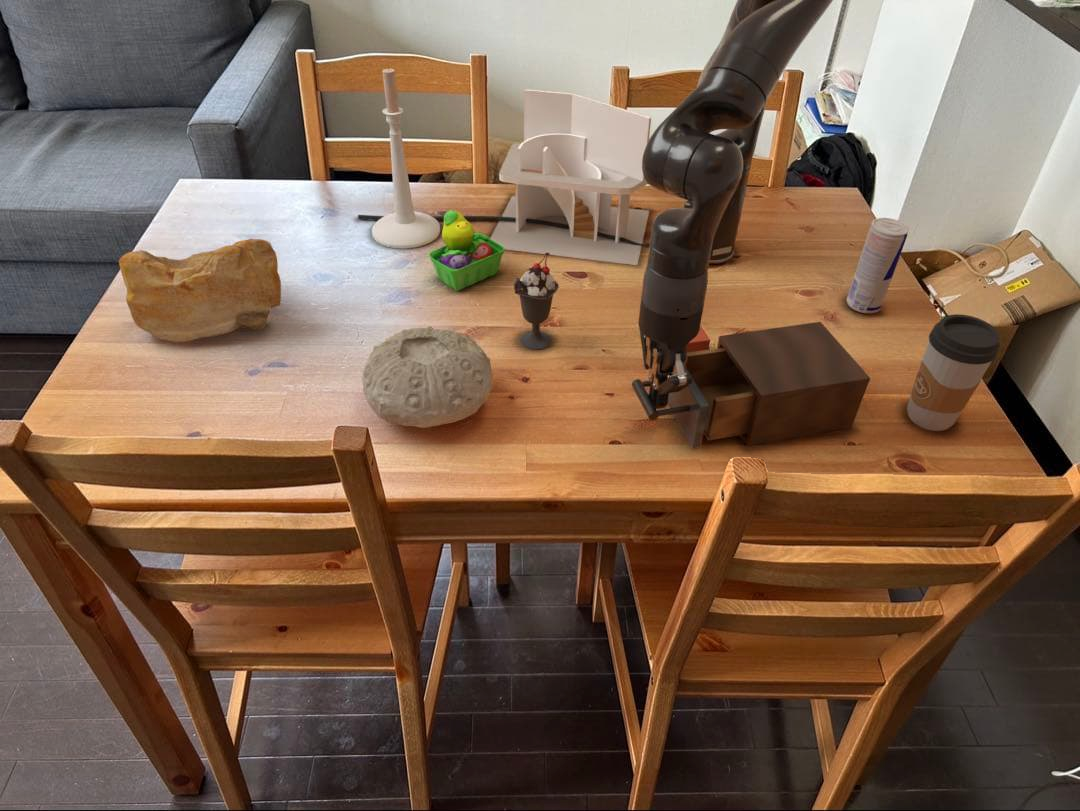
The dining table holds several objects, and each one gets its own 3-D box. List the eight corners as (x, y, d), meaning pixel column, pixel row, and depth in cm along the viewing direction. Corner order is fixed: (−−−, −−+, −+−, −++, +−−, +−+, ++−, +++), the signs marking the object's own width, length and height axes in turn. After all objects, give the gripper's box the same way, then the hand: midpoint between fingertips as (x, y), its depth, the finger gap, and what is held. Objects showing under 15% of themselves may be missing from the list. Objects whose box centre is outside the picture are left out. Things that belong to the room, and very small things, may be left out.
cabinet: (747, 447, 106) (761, 395, 100) (708, 386, 115) (719, 335, 109) (851, 429, 109) (870, 378, 102) (805, 371, 118) (820, 321, 112)
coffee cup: (888, 399, 114) (923, 313, 104) (943, 396, 114) (983, 310, 104) (913, 438, 107) (953, 351, 97) (972, 435, 108) (1017, 348, 98)
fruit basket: (455, 297, 132) (451, 237, 124) (424, 276, 137) (419, 217, 129) (507, 274, 137) (506, 215, 130) (476, 254, 142) (474, 196, 135)
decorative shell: (449, 349, 121) (444, 294, 114) (519, 410, 111) (518, 354, 104) (344, 395, 112) (333, 339, 106) (410, 466, 102) (402, 408, 95)
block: (680, 365, 119) (684, 343, 116) (670, 349, 122) (673, 327, 119) (706, 362, 119) (710, 339, 117) (695, 345, 123) (699, 323, 120)
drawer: (651, 455, 103) (658, 413, 98) (622, 398, 112) (627, 356, 107) (791, 431, 107) (804, 390, 102) (753, 377, 115) (763, 337, 110)
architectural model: (485, 247, 144) (481, 121, 129) (512, 195, 160) (511, 77, 145) (637, 265, 140) (651, 137, 125) (649, 210, 156) (663, 91, 140)
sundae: (562, 332, 125) (565, 249, 115) (548, 357, 120) (551, 272, 110) (523, 324, 126) (523, 241, 116) (508, 348, 121) (507, 263, 112)
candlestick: (404, 209, 155) (387, 49, 135) (454, 228, 150) (443, 65, 130) (357, 234, 147) (331, 69, 127) (407, 255, 142) (388, 86, 122)
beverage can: (882, 317, 129) (912, 236, 119) (847, 313, 130) (873, 231, 120) (878, 298, 133) (906, 218, 123) (844, 294, 134) (869, 214, 124)
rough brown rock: (308, 291, 134) (289, 207, 125) (288, 342, 121) (266, 253, 112) (170, 297, 133) (142, 214, 124) (135, 350, 120) (100, 261, 111)
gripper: (625, 271, 98) (615, 379, 109) (663, 332, 88) (647, 443, 100) (681, 264, 99) (665, 371, 111) (725, 323, 90) (702, 433, 101)
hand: (657, 405), depth 105 cm, fingers closed
